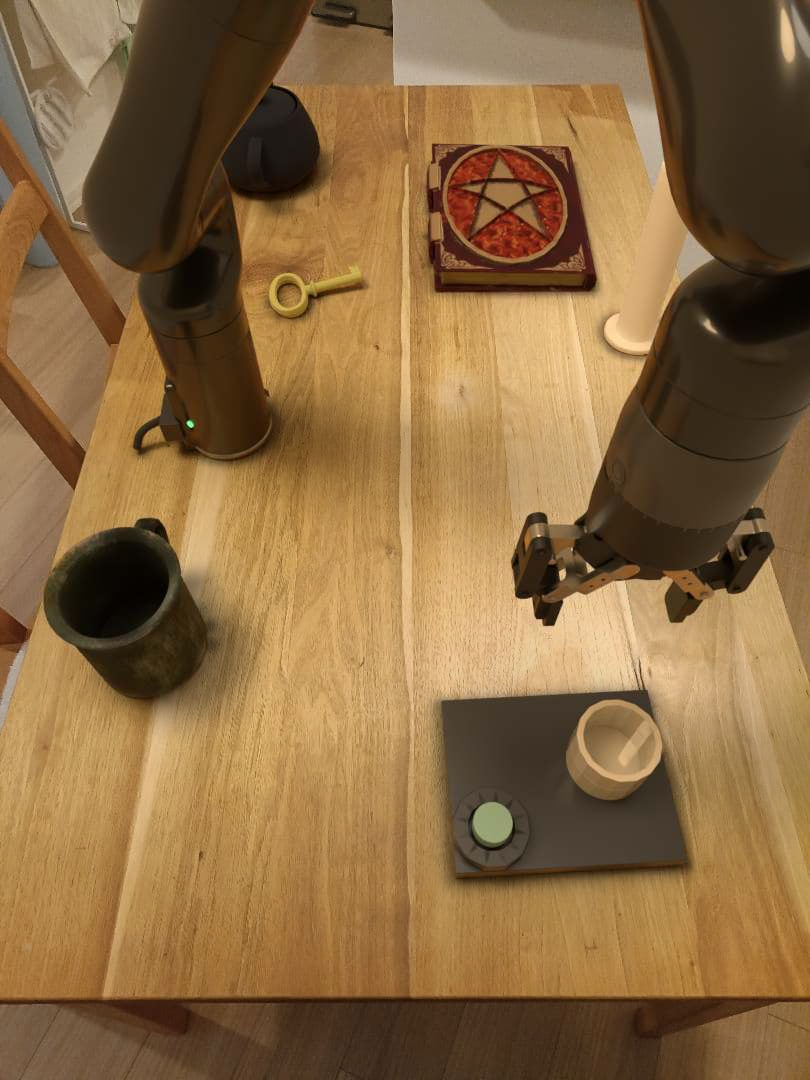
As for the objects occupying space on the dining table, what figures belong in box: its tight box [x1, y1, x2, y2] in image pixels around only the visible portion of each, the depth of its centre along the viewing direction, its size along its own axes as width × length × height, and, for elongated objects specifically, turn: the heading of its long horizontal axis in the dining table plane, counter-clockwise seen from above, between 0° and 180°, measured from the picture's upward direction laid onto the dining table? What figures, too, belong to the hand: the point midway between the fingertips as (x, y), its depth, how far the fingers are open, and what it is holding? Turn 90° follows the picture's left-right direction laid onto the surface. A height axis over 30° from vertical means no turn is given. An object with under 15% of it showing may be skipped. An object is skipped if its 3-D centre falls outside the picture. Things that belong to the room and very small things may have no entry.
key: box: [268, 264, 364, 319], centre depth 98 cm, size 7×12×2 cm, turn 123°
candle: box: [603, 160, 689, 356], centre depth 83 cm, size 7×7×25 cm
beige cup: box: [566, 700, 664, 800], centre depth 61 cm, size 6×6×6 cm
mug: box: [42, 517, 208, 698], centre depth 67 cm, size 11×15×12 cm
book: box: [426, 143, 598, 292], centre depth 104 cm, size 28×21×5 cm
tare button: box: [472, 802, 513, 848], centre depth 59 cm, size 3×3×2 cm
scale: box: [440, 689, 688, 879], centre depth 63 cm, size 18×14×4 cm
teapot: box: [220, 81, 321, 194], centre depth 108 cm, size 25×16×12 cm, turn 1°
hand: (608, 612), depth 52 cm, fingers open, 8 cm apart
